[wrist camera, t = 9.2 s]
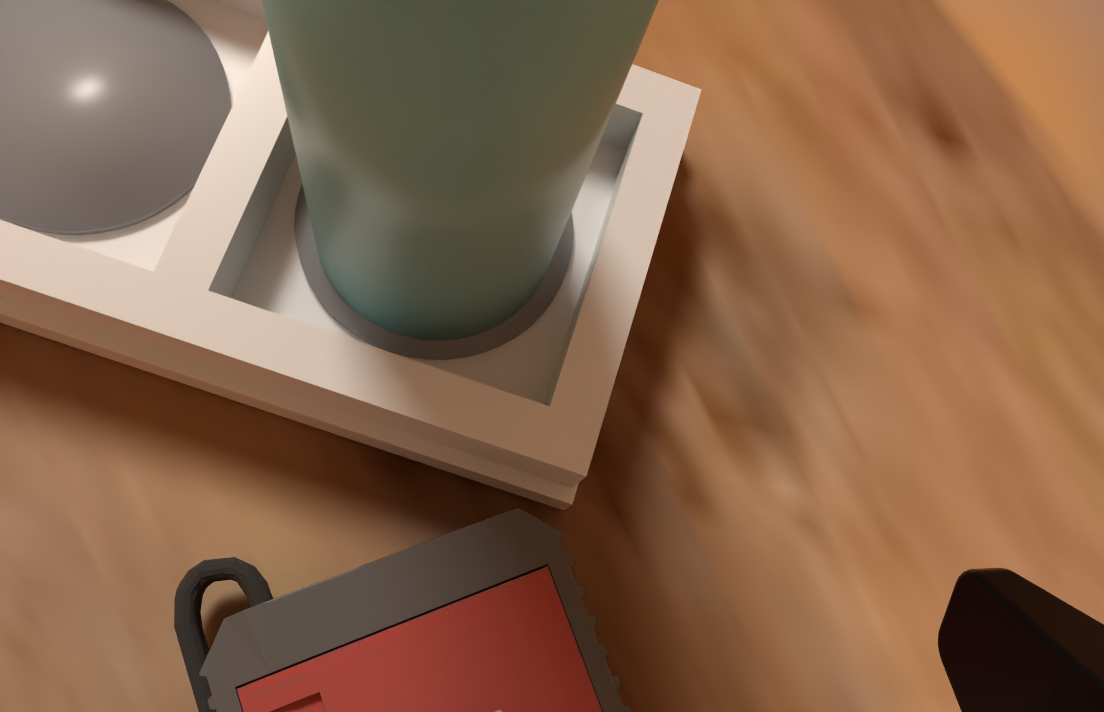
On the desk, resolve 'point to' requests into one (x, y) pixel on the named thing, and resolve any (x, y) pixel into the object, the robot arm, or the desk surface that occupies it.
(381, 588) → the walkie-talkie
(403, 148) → the green banded cylinder
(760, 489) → the desk surface
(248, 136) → the housing
